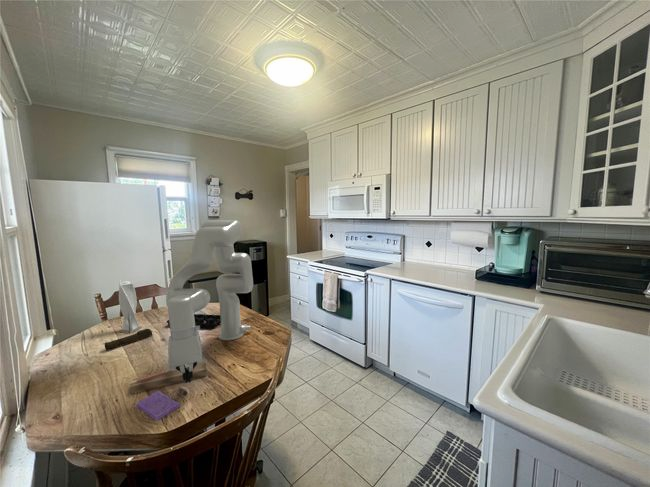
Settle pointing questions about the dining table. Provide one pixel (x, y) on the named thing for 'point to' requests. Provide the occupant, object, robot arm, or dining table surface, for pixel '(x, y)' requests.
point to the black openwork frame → (210, 320)
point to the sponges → (157, 405)
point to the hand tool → (128, 339)
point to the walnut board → (166, 379)
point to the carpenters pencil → (149, 377)
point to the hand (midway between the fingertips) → (188, 380)
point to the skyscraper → (128, 306)
